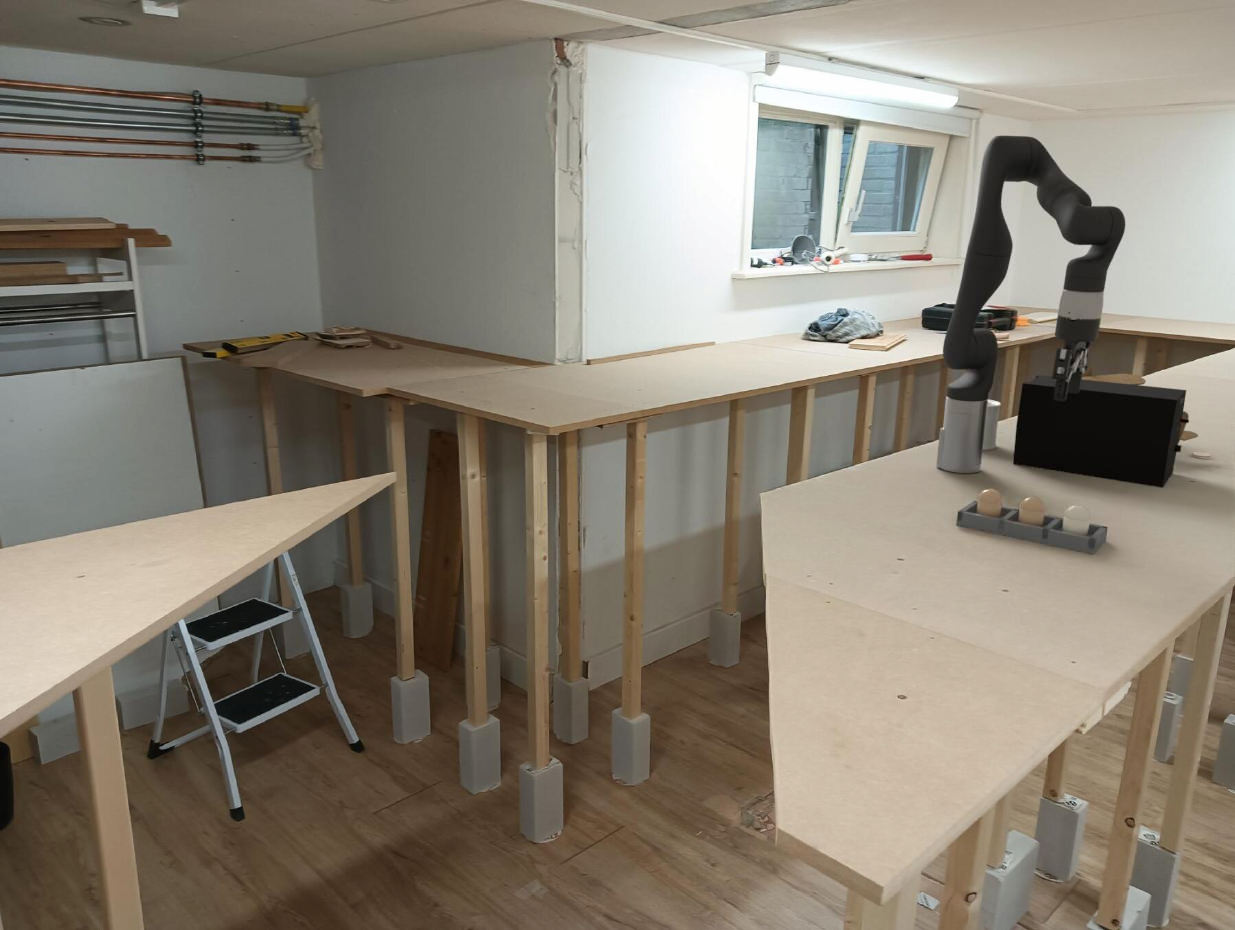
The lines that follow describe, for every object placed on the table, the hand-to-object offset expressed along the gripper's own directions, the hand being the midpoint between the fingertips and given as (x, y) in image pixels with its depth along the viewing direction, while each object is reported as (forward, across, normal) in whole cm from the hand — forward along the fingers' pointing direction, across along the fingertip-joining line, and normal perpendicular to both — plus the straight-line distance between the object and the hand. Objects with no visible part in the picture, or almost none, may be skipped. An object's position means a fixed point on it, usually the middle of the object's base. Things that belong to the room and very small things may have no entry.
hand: (1066, 396), depth 185 cm
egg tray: (+24, +14, +1) cm, 28 cm away
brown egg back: (+24, +14, -7) cm, 28 cm away
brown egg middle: (+23, +14, +1) cm, 27 cm away
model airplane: (+26, -67, -2) cm, 72 cm away
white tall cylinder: (+27, -46, -32) cm, 62 cm away
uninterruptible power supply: (+26, -42, -2) cm, 49 cm away
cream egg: (+23, +14, +9) cm, 28 cm away
